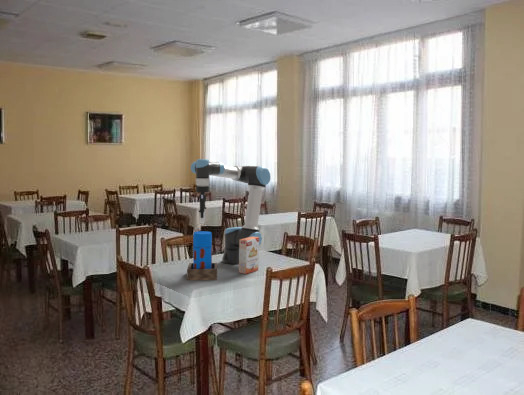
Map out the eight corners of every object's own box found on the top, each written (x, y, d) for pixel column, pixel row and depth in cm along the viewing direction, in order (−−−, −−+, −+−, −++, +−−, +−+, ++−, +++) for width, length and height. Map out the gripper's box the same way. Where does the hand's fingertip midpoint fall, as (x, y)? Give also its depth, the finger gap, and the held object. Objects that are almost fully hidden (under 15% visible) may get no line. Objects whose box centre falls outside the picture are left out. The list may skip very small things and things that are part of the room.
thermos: (211, 276, 299) (211, 234, 296) (193, 276, 298) (192, 234, 296) (211, 272, 310) (211, 231, 307) (194, 272, 309) (193, 231, 306)
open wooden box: (217, 272, 313) (217, 262, 312) (216, 279, 296) (216, 269, 296) (189, 272, 312) (189, 263, 311) (187, 279, 295) (187, 269, 294)
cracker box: (246, 274, 308) (246, 240, 306) (238, 273, 312) (238, 239, 310) (259, 270, 320) (259, 237, 318) (251, 268, 323) (251, 236, 321)
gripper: (197, 184, 311) (197, 218, 313) (194, 187, 286) (195, 224, 288) (209, 184, 311) (209, 218, 313) (208, 187, 287) (208, 224, 289)
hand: (202, 221), depth 301 cm, fingers open, 13 cm apart
